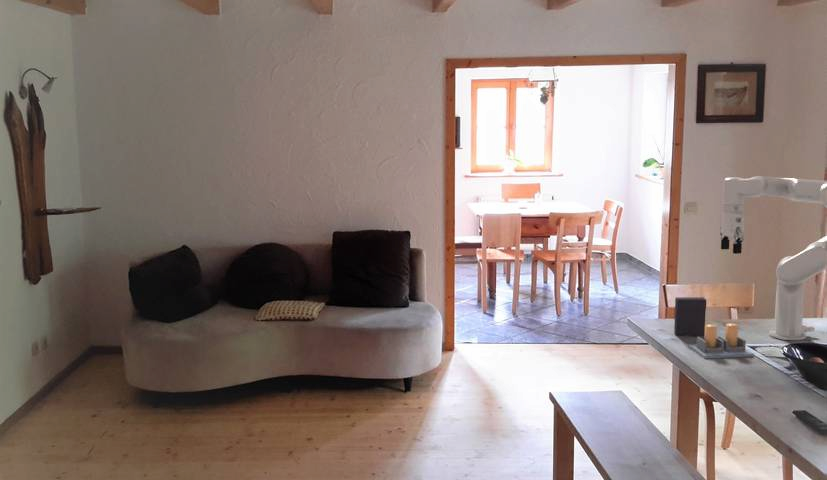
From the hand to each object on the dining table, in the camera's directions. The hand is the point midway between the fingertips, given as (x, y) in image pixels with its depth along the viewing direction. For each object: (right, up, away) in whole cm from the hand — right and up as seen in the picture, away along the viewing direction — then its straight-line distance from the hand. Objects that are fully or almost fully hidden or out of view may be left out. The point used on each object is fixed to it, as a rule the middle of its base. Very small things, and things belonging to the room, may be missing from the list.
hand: (730, 251), depth 279 cm
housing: (-14, -37, -22) cm, 45 cm away
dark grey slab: (-17, -34, 0) cm, 37 cm away
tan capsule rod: (-10, -36, -22) cm, 43 cm away
